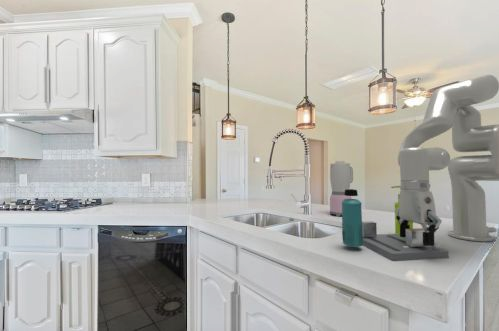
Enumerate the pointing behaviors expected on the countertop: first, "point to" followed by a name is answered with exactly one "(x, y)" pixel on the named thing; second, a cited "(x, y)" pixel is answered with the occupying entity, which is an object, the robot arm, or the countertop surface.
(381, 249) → the console
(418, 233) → the fader tab
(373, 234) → the fader tab
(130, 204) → the countertop surface
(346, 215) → the beverage bottle
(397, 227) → the soap dispenser
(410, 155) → the robot arm
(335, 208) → the blender
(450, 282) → the countertop surface
